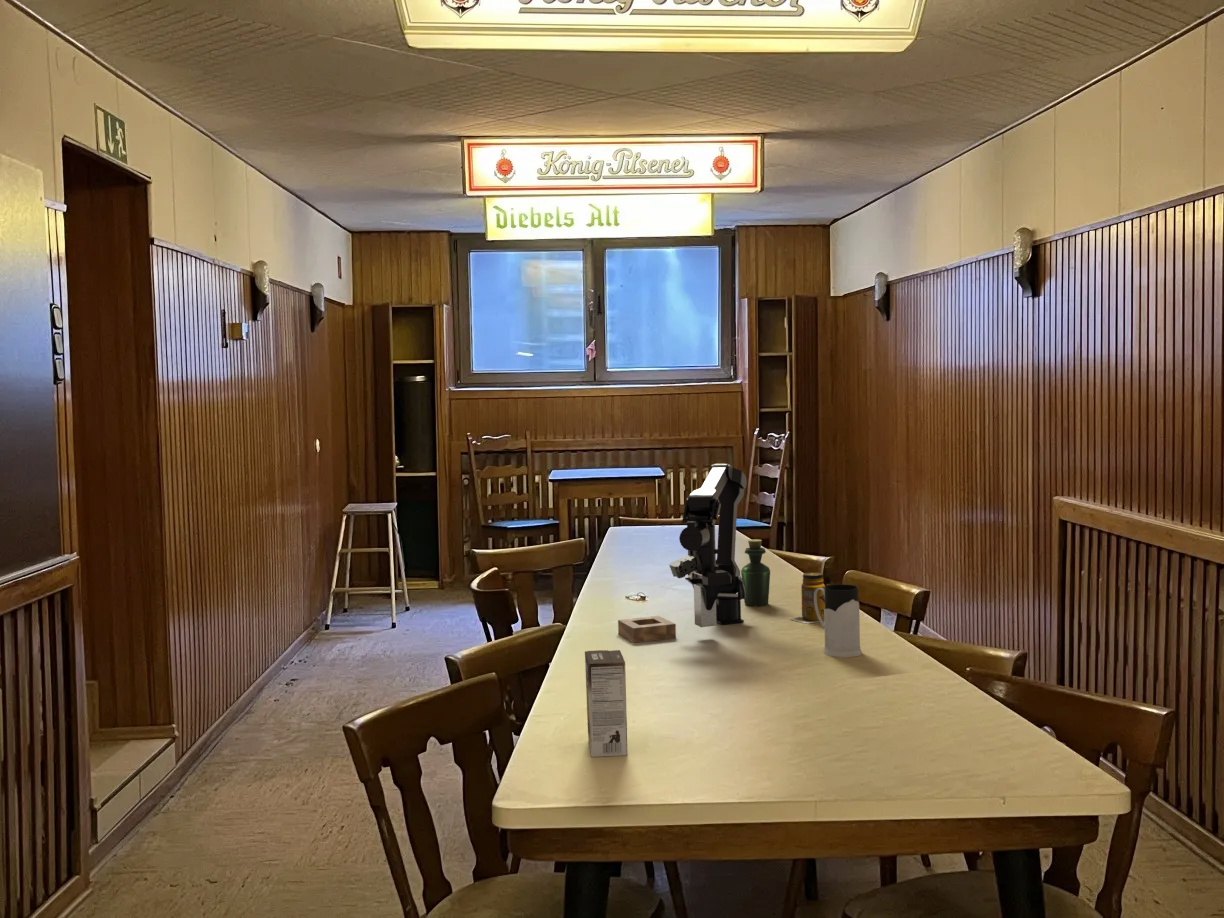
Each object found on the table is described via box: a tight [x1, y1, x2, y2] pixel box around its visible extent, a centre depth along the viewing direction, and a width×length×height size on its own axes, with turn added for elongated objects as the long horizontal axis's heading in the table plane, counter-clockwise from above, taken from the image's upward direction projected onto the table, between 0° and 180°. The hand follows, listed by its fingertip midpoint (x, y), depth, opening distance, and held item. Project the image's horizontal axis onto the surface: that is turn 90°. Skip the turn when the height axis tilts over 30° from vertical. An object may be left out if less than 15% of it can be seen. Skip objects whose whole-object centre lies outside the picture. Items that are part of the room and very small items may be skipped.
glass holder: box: [814, 583, 863, 658], centre depth 260 cm, size 9×14×15 cm, turn 27°
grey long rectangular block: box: [693, 584, 718, 628], centre depth 277 cm, size 4×4×10 cm
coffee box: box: [584, 649, 628, 758], centre depth 195 cm, size 9×6×16 cm
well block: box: [617, 615, 677, 643], centre depth 281 cm, size 11×11×4 cm
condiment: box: [789, 572, 826, 624], centre depth 294 cm, size 7×8×12 cm
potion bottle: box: [740, 538, 771, 607], centre depth 317 cm, size 8×8×18 cm
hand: (705, 608), depth 277 cm, fingers closed on grey long rectangular block, 4 cm apart
